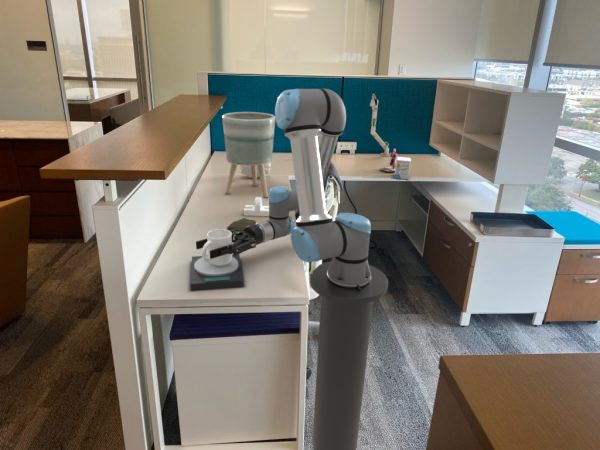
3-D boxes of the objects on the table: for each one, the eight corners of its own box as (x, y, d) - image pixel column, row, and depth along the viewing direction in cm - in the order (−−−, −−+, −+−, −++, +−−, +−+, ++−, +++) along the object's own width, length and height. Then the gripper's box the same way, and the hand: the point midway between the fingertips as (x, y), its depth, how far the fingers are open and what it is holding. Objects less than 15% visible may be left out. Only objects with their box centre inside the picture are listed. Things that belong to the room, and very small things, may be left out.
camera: (240, 175, 268) (239, 149, 262) (269, 175, 270) (270, 149, 264) (240, 180, 258) (239, 153, 252) (271, 180, 260) (271, 153, 254)
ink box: (394, 178, 273) (396, 159, 269) (394, 174, 281) (396, 156, 277) (408, 179, 272) (410, 160, 267) (408, 175, 279) (410, 157, 275)
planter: (276, 199, 228) (278, 120, 213) (224, 200, 224) (222, 119, 209) (271, 184, 253) (272, 112, 237) (224, 185, 249) (222, 111, 233)
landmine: (241, 215, 199) (270, 222, 193) (241, 221, 200) (270, 227, 194) (222, 225, 187) (253, 233, 181) (223, 231, 188) (253, 239, 182)
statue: (391, 170, 295) (395, 147, 291) (400, 173, 287) (405, 150, 283) (378, 169, 290) (382, 146, 285) (386, 173, 282) (391, 149, 278)
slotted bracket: (243, 215, 207) (243, 199, 204) (245, 210, 213) (245, 194, 210) (271, 216, 206) (271, 200, 204) (272, 211, 213) (272, 195, 210)
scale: (243, 286, 147) (243, 278, 146) (190, 290, 143) (190, 281, 142) (239, 259, 165) (239, 251, 164) (192, 262, 161) (191, 254, 160)
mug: (211, 272, 147) (209, 244, 143) (194, 264, 152) (193, 237, 148) (237, 260, 156) (236, 233, 152) (221, 253, 160) (220, 226, 156)
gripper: (275, 253, 157) (220, 272, 143) (241, 233, 172) (188, 249, 157) (276, 233, 154) (219, 251, 140) (241, 215, 169) (187, 229, 155)
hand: (203, 250), depth 149 cm, fingers closed on mug, 8 cm apart
